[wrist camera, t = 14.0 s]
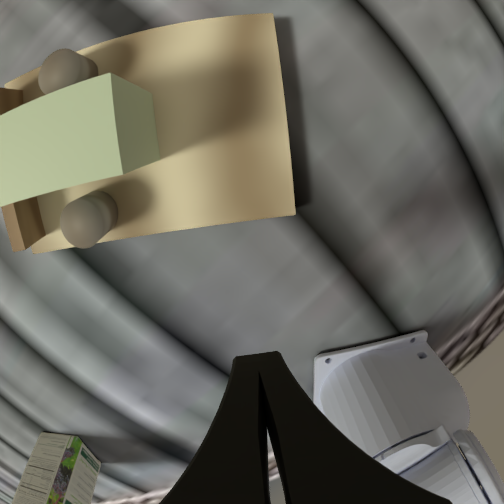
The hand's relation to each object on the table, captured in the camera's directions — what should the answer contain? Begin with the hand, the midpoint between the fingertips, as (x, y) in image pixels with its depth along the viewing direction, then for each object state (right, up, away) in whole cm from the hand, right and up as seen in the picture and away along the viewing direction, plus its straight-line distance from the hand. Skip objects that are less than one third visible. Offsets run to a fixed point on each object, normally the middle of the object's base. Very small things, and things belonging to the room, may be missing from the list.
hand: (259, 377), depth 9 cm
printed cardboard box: (-20, -18, +16) cm, 31 cm away
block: (-9, +10, +5) cm, 14 cm away
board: (-7, +10, +6) cm, 14 cm away
